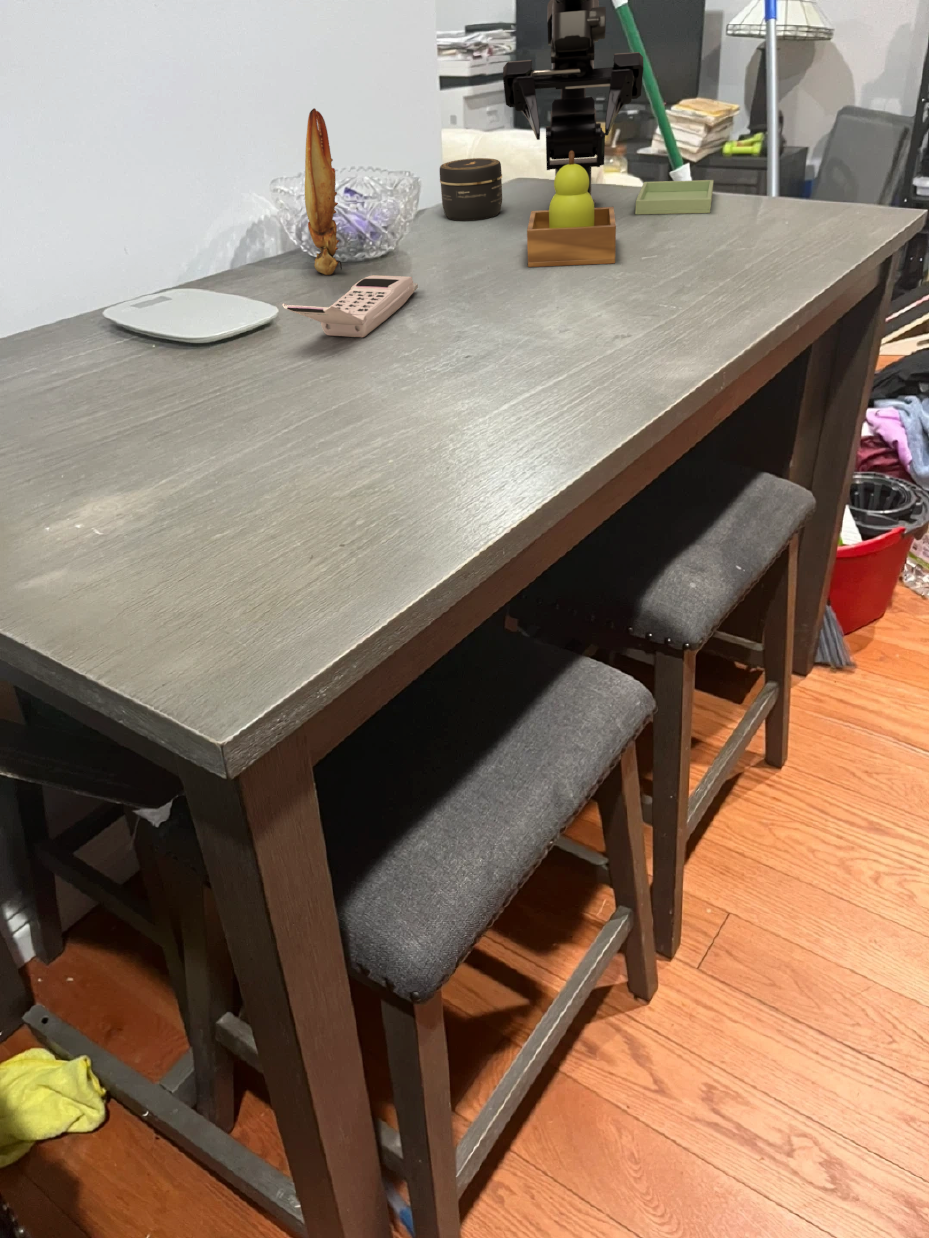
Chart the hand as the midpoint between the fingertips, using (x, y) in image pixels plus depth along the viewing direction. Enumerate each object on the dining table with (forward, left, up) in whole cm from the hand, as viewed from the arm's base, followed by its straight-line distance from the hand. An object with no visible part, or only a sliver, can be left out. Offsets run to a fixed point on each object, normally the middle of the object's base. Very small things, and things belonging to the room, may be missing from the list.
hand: (572, 135), depth 122 cm
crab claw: (+18, -31, -14) cm, 38 cm away
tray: (-22, +13, -13) cm, 29 cm away
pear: (+8, +1, -13) cm, 15 cm away
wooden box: (+8, +1, -13) cm, 15 cm away
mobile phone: (+38, -19, -14) cm, 44 cm away
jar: (-17, -19, -14) cm, 29 cm away
